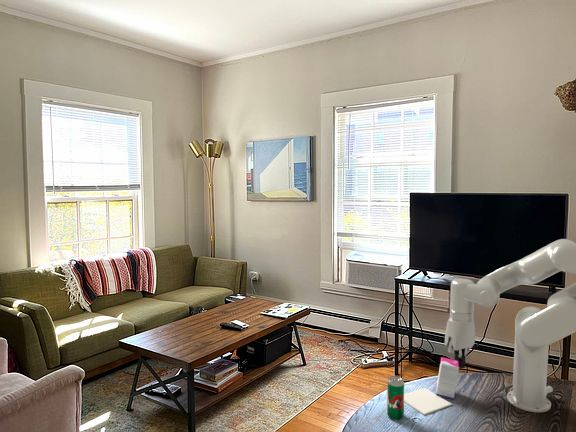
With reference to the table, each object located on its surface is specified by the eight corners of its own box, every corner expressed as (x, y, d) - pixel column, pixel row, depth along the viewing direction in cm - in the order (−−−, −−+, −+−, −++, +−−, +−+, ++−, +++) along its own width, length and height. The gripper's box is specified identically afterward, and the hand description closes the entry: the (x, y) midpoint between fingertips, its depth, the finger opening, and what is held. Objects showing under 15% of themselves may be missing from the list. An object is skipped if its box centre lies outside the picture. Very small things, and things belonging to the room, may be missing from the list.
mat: (424, 389, 154) (424, 387, 154) (451, 405, 144) (451, 403, 144) (397, 397, 149) (397, 396, 149) (423, 415, 138) (424, 413, 138)
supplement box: (454, 399, 147) (459, 367, 145) (435, 395, 149) (440, 363, 147) (453, 391, 152) (458, 360, 151) (435, 387, 154) (440, 356, 153)
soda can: (406, 415, 138) (407, 379, 137) (398, 422, 135) (398, 385, 133) (392, 409, 142) (393, 374, 140) (384, 416, 138) (384, 379, 137)
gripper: (468, 308, 158) (466, 358, 160) (437, 315, 151) (435, 367, 153) (485, 315, 151) (483, 366, 153) (454, 322, 144) (452, 376, 146)
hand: (459, 366), depth 153 cm, fingers closed
